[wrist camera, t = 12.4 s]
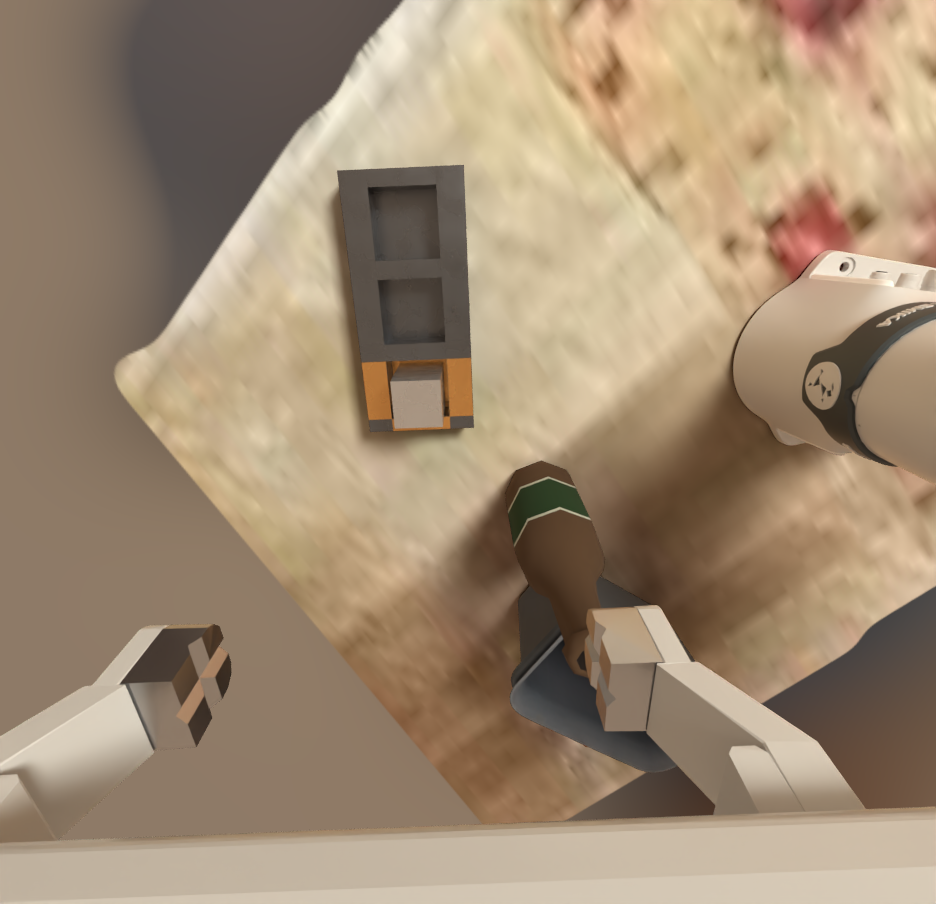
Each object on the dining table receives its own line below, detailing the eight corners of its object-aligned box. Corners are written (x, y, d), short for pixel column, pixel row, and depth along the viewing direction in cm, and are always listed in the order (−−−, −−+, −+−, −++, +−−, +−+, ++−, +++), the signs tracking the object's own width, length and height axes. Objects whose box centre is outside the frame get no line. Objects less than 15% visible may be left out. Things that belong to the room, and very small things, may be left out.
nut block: (443, 361, 47) (440, 379, 41) (445, 403, 49) (442, 426, 42) (400, 363, 47) (390, 381, 41) (403, 404, 49) (394, 428, 42)
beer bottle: (504, 458, 52) (537, 615, 30) (577, 458, 52) (663, 613, 30) (503, 521, 55) (531, 706, 33) (571, 520, 55) (646, 704, 33)
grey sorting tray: (463, 171, 41) (463, 164, 38) (473, 415, 50) (473, 427, 47) (346, 176, 41) (336, 170, 38) (376, 420, 50) (370, 432, 47)
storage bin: (692, 605, 60) (757, 705, 47) (612, 683, 65) (650, 794, 52) (554, 525, 55) (583, 612, 42) (479, 616, 60) (484, 719, 47)
